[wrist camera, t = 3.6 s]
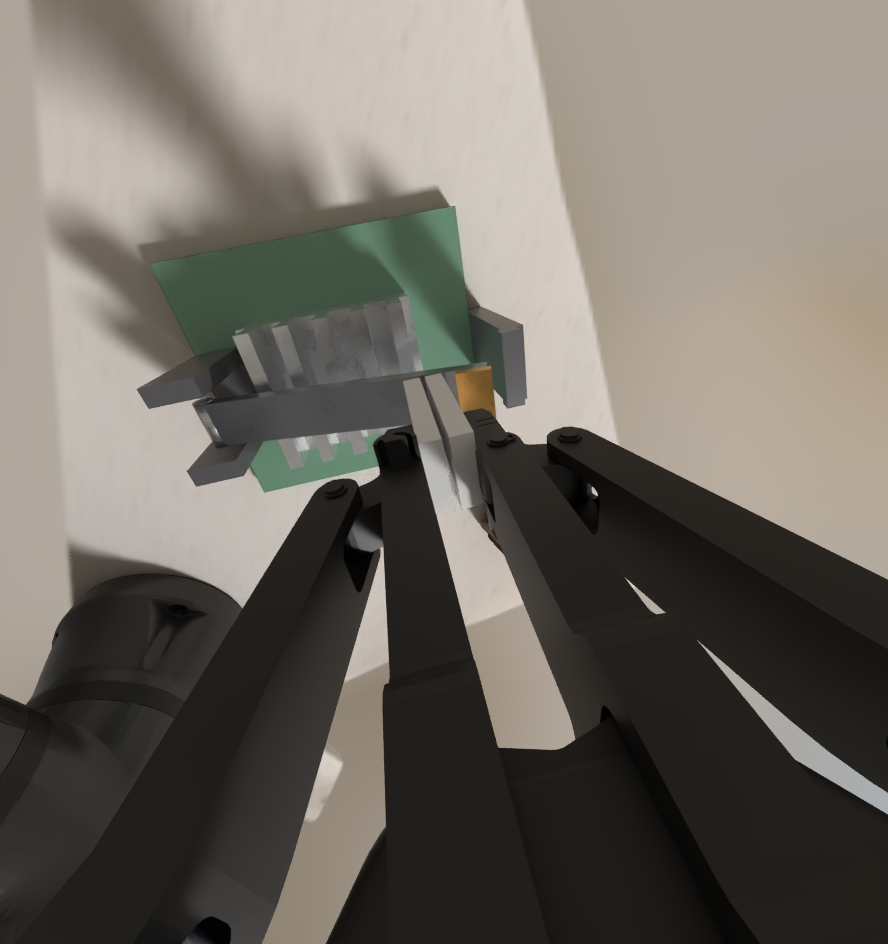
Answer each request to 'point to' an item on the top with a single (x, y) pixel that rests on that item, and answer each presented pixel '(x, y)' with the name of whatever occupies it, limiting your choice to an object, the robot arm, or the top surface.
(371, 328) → the heatsink
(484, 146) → the top surface
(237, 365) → the grey u-bracket
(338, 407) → the strap
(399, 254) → the board
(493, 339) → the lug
